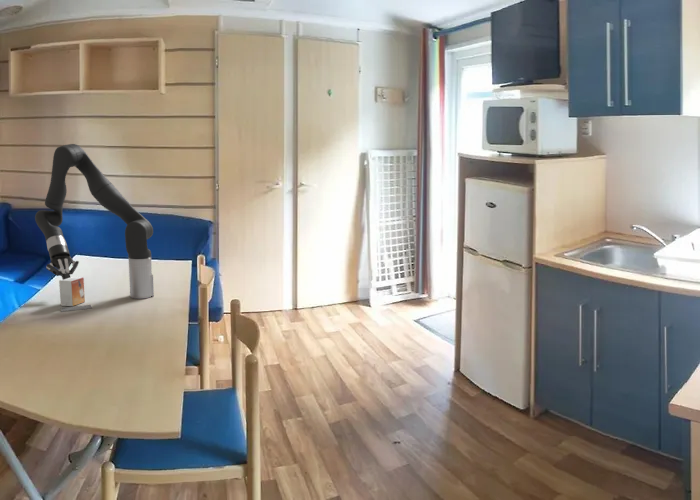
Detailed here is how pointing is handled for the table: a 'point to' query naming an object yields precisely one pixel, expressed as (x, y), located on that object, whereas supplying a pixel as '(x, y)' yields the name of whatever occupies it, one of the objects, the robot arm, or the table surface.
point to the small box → (72, 291)
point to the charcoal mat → (75, 308)
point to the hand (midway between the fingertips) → (67, 282)
